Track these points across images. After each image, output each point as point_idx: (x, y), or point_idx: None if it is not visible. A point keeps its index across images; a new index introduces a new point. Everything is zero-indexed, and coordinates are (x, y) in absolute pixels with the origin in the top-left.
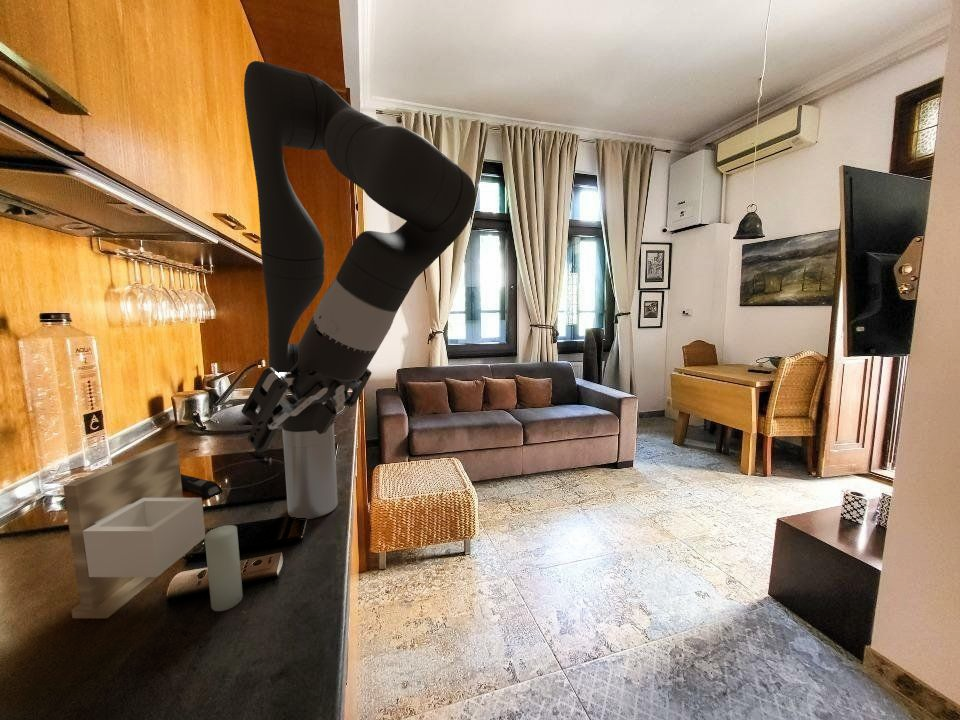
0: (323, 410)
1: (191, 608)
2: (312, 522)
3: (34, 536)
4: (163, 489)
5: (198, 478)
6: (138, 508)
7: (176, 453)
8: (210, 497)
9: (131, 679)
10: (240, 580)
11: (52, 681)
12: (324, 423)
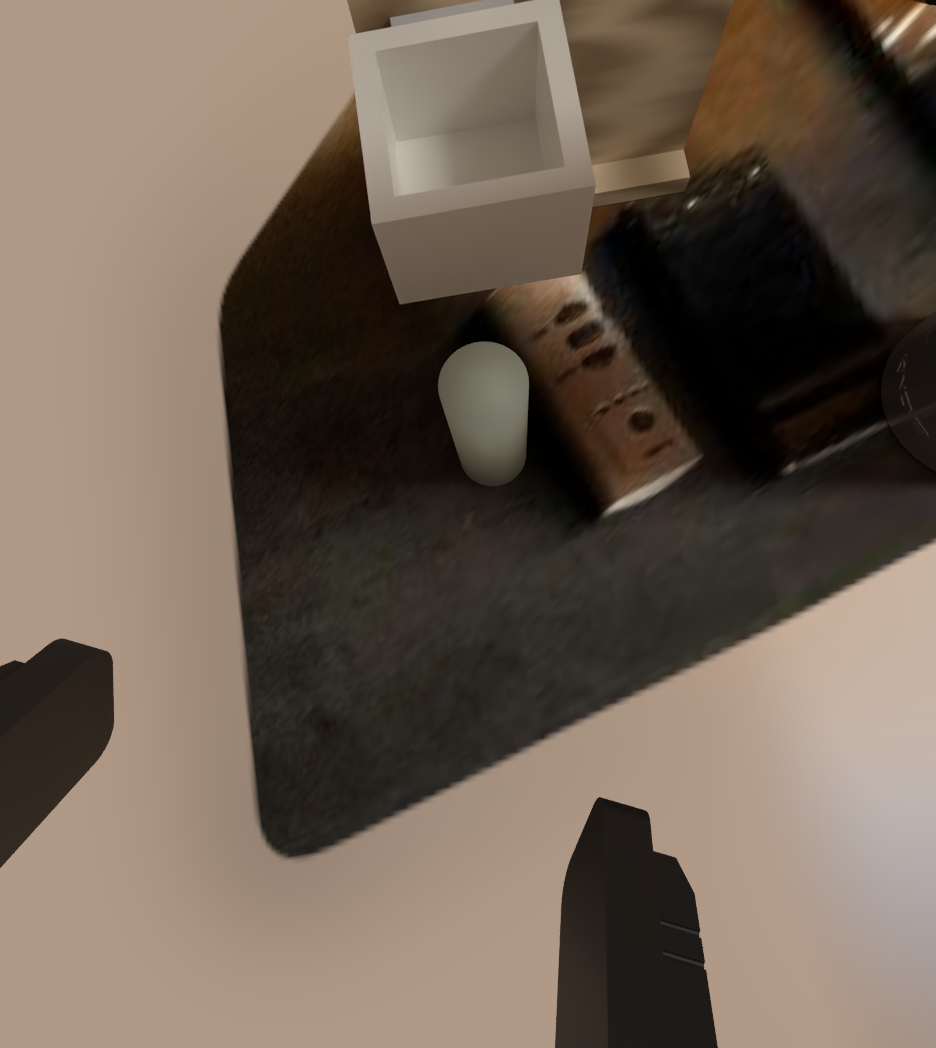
0: (590, 1027)
1: None
2: (877, 452)
3: None
4: None
5: None
6: (512, 39)
7: None
8: (934, 2)
9: (285, 434)
10: (504, 470)
11: (268, 299)
12: (564, 972)
